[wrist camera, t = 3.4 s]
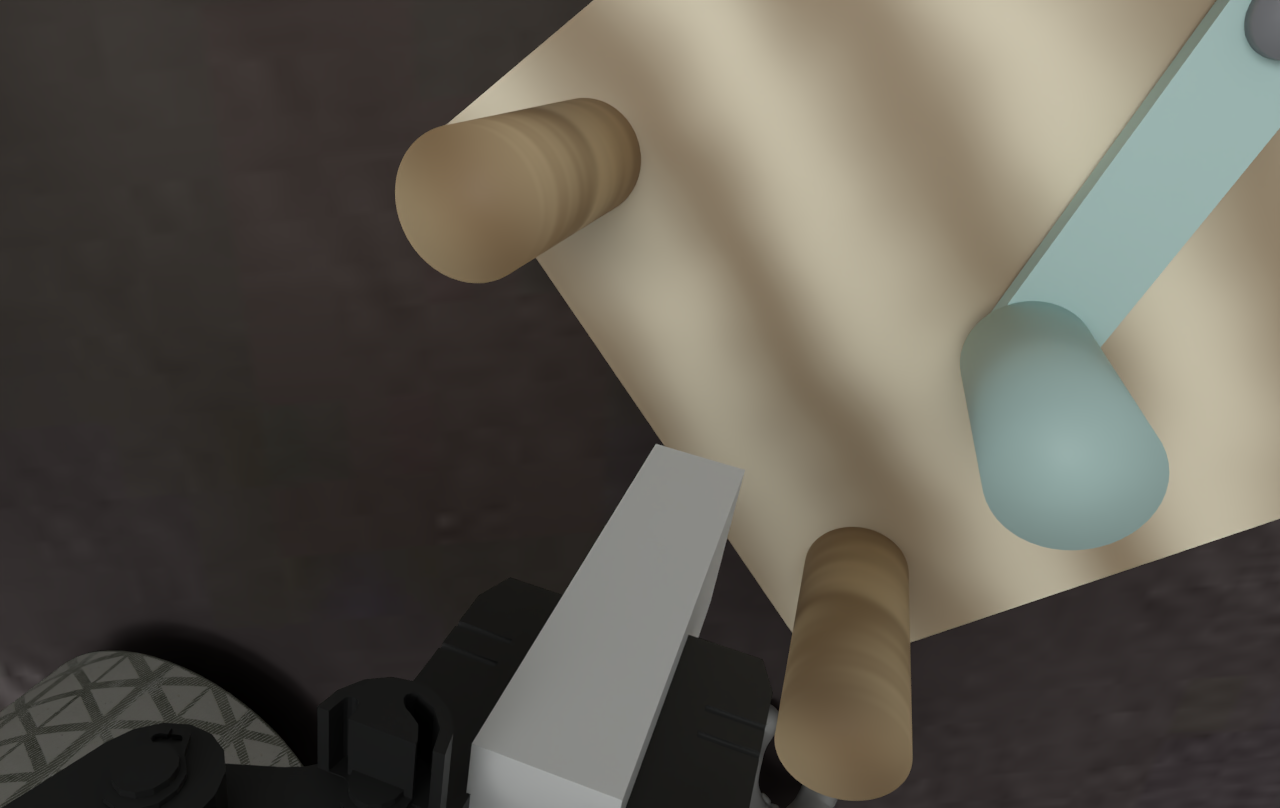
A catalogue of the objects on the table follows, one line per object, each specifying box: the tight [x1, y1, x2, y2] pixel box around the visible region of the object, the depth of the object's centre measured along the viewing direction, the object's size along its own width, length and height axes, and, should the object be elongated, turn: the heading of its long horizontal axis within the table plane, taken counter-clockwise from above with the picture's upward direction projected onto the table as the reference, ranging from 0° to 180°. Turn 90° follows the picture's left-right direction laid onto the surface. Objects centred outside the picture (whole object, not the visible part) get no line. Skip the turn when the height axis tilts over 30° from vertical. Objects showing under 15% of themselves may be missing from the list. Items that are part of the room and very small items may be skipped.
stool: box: [395, 0, 1280, 801], centre depth 22 cm, size 25×24×12 cm
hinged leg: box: [960, 0, 1280, 550], centre depth 19 cm, size 13×4×8 cm, turn 155°
